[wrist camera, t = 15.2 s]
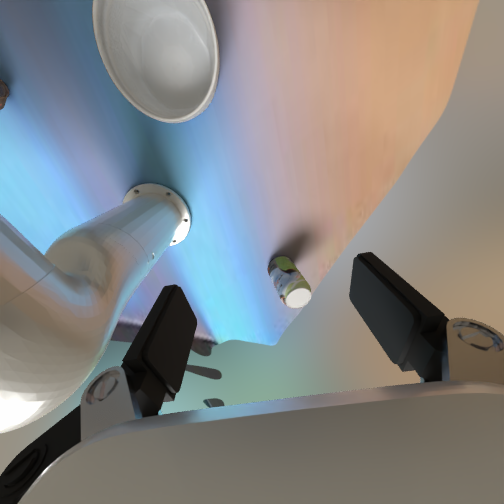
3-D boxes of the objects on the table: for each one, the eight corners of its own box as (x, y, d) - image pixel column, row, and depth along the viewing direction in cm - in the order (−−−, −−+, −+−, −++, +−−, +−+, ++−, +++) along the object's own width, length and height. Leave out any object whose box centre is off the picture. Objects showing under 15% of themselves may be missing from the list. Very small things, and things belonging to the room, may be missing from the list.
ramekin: (212, 140, 31) (204, 139, 25) (126, 106, 28) (94, 95, 22) (235, 29, 24) (232, -8, 18) (128, -27, 22) (84, -92, 16)
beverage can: (262, 260, 43) (268, 297, 33) (292, 247, 41) (308, 282, 31) (273, 279, 46) (281, 318, 35) (301, 267, 44) (318, 305, 34)
